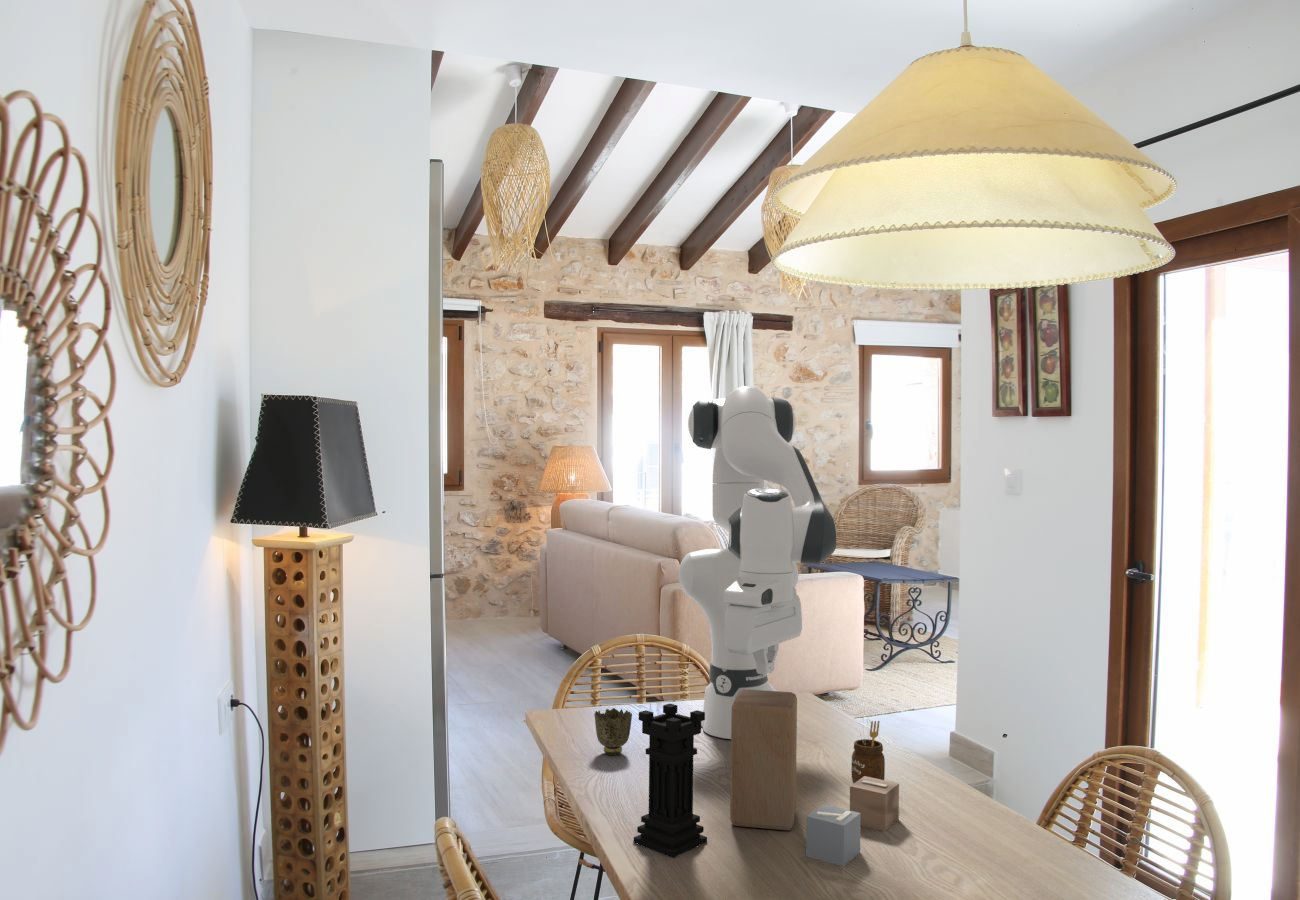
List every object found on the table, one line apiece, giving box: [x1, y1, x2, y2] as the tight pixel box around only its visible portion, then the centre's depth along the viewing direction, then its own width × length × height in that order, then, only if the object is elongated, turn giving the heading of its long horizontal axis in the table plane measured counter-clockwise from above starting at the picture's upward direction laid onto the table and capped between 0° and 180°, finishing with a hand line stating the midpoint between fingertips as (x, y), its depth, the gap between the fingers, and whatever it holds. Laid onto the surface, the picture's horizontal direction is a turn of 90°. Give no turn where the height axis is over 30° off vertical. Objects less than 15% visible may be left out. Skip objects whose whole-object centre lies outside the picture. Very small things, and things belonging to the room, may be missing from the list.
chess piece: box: [633, 703, 708, 859], centre depth 149 cm, size 8×8×20 cm
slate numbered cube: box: [805, 804, 861, 867], centre depth 145 cm, size 6×6×6 cm
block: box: [729, 689, 798, 831], centre depth 159 cm, size 10×10×20 cm
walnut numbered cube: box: [849, 776, 900, 832], centre depth 159 cm, size 6×6×6 cm
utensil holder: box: [850, 717, 886, 783], centre depth 177 cm, size 6×6×12 cm
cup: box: [593, 707, 633, 756], centre depth 192 cm, size 8×7×8 cm
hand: (765, 672), depth 159 cm, fingers closed
